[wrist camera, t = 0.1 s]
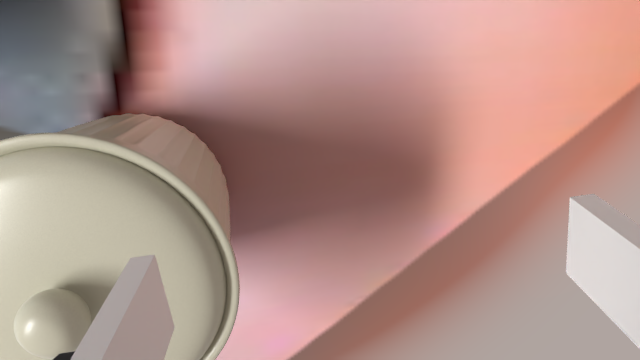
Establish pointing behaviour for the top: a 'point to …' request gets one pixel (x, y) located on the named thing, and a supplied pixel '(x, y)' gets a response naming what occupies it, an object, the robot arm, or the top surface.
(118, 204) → the canister
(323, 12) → the top surface
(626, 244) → the robot arm
